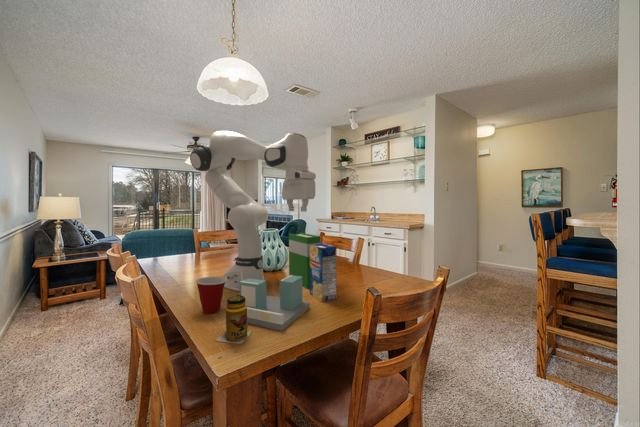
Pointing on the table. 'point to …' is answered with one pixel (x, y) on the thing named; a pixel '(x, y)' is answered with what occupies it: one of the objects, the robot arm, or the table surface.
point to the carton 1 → (253, 293)
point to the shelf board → (275, 314)
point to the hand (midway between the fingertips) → (297, 211)
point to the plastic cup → (211, 293)
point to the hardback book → (301, 256)
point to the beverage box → (323, 271)
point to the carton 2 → (291, 292)
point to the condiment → (235, 321)
